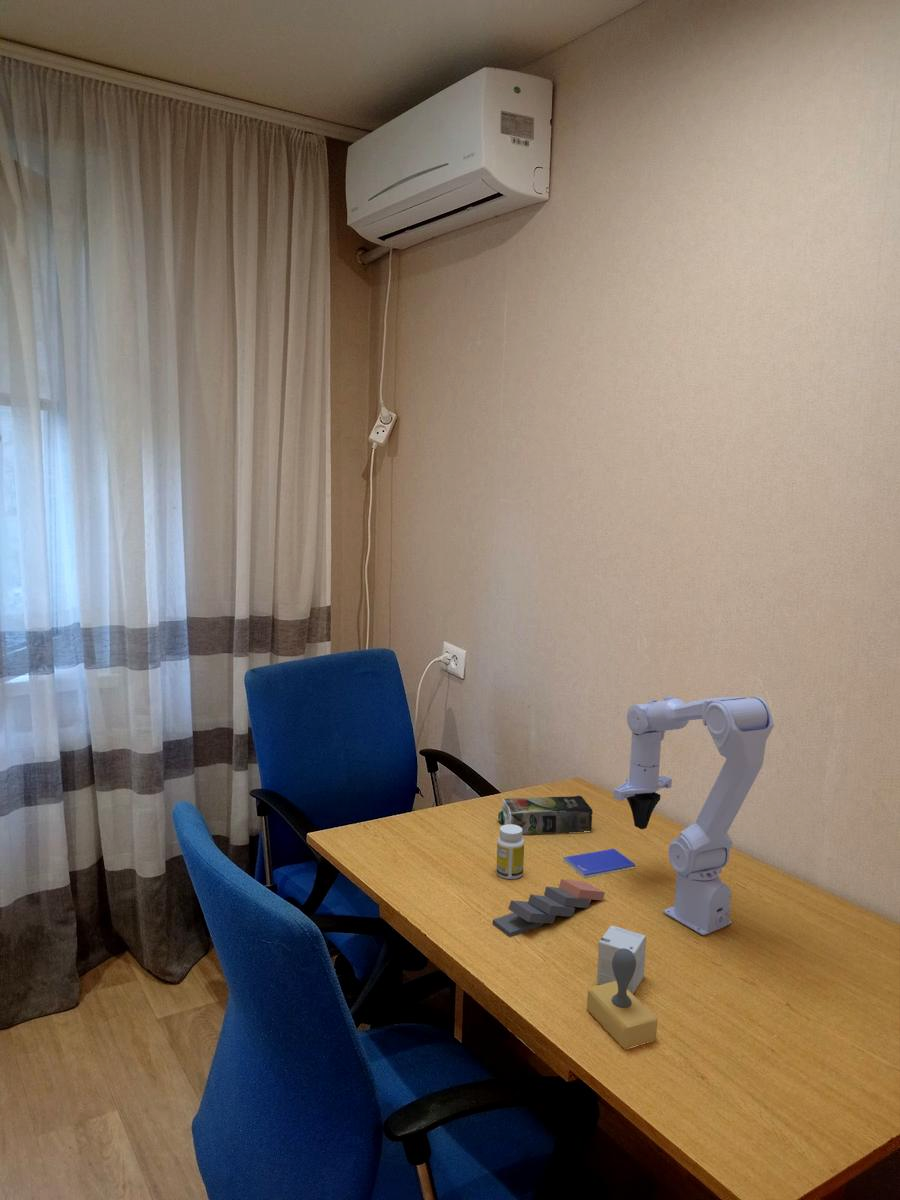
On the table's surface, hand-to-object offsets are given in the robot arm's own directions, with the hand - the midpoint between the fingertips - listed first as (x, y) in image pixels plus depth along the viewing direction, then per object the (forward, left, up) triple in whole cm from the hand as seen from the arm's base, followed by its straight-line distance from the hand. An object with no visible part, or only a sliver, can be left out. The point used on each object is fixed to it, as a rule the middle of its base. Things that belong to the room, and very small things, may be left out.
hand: (640, 827), depth 170 cm
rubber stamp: (-32, +37, -11) cm, 50 cm away
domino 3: (-3, +23, -10) cm, 25 cm away
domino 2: (-3, +27, -10) cm, 29 cm away
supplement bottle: (+14, +22, -11) cm, 28 cm away
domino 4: (-2, +18, -10) cm, 20 cm away
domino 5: (-1, +13, -10) cm, 16 cm away
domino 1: (-2, +29, -10) cm, 31 cm away
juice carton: (+29, 0, -11) cm, 31 cm away
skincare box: (-24, +29, -11) cm, 39 cm away
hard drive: (+8, +3, -11) cm, 14 cm away
